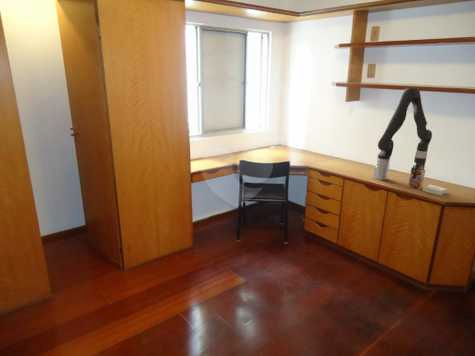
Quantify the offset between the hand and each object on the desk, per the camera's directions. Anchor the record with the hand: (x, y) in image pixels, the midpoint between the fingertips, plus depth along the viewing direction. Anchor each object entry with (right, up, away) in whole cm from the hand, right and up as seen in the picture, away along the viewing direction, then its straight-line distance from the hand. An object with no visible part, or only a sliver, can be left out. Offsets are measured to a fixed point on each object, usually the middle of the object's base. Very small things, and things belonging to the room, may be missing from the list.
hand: (416, 177), depth 256 cm
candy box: (0, -8, +3) cm, 8 cm away
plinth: (+10, -10, -5) cm, 16 cm away
